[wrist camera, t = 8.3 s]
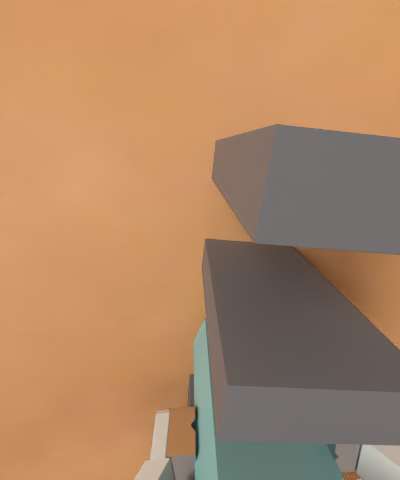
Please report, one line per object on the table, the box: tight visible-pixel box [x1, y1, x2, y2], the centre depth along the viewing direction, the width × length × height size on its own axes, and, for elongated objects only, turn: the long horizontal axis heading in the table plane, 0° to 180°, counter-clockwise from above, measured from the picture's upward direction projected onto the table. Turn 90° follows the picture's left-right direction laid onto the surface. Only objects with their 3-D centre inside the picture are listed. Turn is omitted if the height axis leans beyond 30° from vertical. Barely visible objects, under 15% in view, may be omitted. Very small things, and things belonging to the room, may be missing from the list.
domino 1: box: [212, 124, 400, 255], centre depth 7 cm, size 2×4×8 cm, turn 85°
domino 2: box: [202, 239, 400, 446], centre depth 9 cm, size 2×4×8 cm, turn 84°
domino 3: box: [194, 318, 344, 480], centre depth 9 cm, size 2×4×8 cm, turn 68°
